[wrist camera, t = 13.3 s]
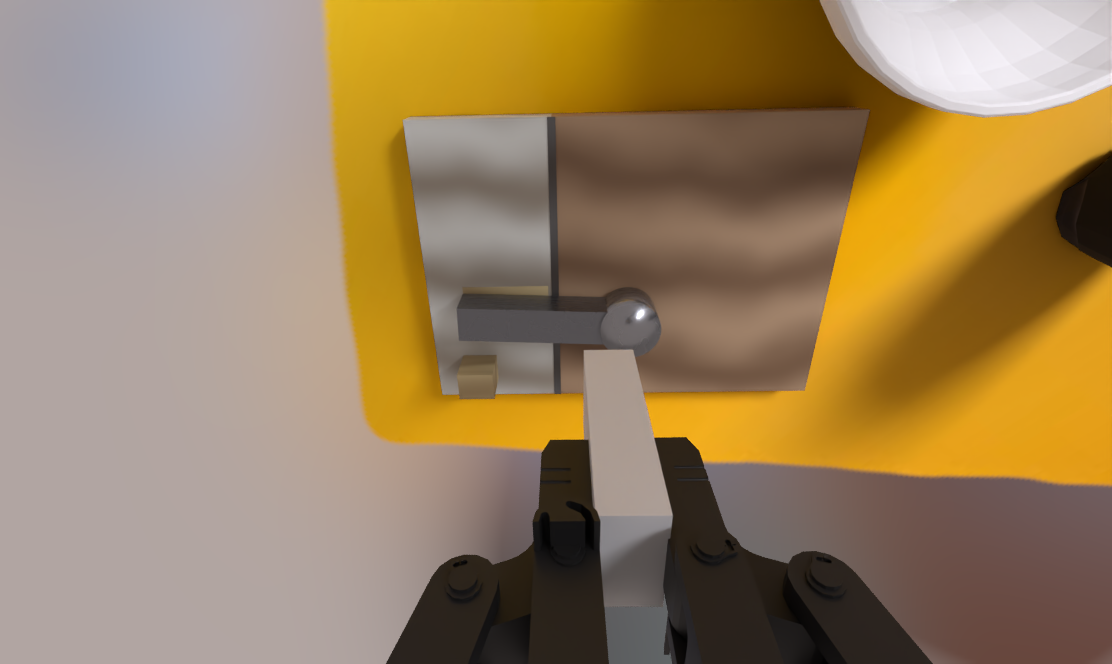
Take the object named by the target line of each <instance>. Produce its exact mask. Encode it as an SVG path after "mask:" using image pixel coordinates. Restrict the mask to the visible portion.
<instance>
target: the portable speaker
mask: <svg viewBox="0 0 1112 664" xmlns="http://www.w3.org/2000/svg"><path fill="white" fill-rule="evenodd" d="M1056 220H1057V223H1058V226H1059V230H1060V233H1061V236H1062V237H1063V238H1064V239H1065V240H1067V241H1068V242H1070V243H1071V244H1073V245H1074V246H1076V247H1077V248H1079V250H1080V251H1082V252H1083V253H1085V254H1087V255H1089V256H1091V257H1092V258H1094V259H1096V260H1098V261H1100V262H1102V263H1104V264H1106V265H1108V266H1110V267H1112V156H1110V157H1109V158H1108V159H1107V160H1106V161H1105V162H1104V163H1103V164H1102V165H1101V166H1099V167H1098V168H1097V169H1096V170H1094V171H1093V172H1092V173H1091V174H1089V175H1088V176H1087V177H1086V178H1084V179H1083V180H1081V181H1080V182H1078V183H1077V184H1075V185H1074V186H1072V187H1070V188H1069V189H1067V190H1066V191H1064V192H1063V194H1062V198H1061V201H1060V205H1059V208H1058V212H1057V216H1056Z"/></svg>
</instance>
